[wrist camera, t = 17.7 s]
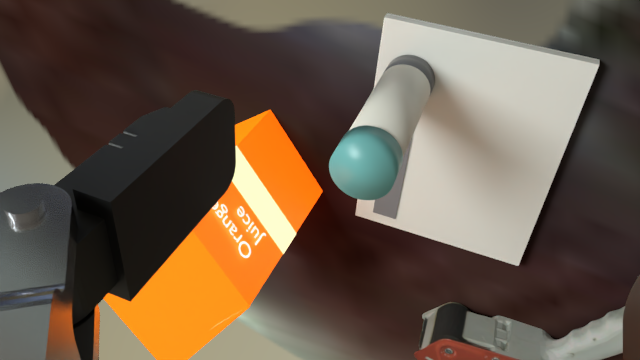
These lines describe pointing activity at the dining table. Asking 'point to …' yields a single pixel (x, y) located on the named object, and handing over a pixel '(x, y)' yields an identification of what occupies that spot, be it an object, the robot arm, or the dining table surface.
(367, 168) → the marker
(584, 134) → the dining table surface
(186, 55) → the dining table surface
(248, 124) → the orange juice
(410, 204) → the paper sheet
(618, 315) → the tape dispenser
